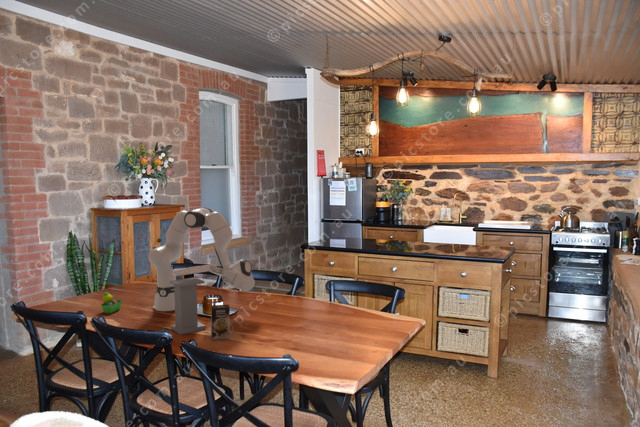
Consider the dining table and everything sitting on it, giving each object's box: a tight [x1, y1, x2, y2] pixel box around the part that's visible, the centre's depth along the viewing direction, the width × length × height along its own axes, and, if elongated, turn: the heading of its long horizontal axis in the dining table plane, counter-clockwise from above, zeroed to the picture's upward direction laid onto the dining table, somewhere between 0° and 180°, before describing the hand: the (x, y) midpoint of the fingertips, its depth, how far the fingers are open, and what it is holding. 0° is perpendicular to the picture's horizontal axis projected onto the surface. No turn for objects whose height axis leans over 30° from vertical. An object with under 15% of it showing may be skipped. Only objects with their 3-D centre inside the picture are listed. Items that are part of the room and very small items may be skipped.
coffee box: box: [210, 304, 231, 341], centre depth 252 cm, size 9×6×16 cm
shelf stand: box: [170, 277, 207, 335], centre depth 265 cm, size 14×12×26 cm
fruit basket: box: [100, 291, 123, 314], centre depth 300 cm, size 11×9×11 cm
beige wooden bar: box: [172, 263, 218, 277], centre depth 266 cm, size 24×3×3 cm, turn 129°
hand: (210, 266), depth 272 cm, fingers closed on beige wooden bar, 3 cm apart
